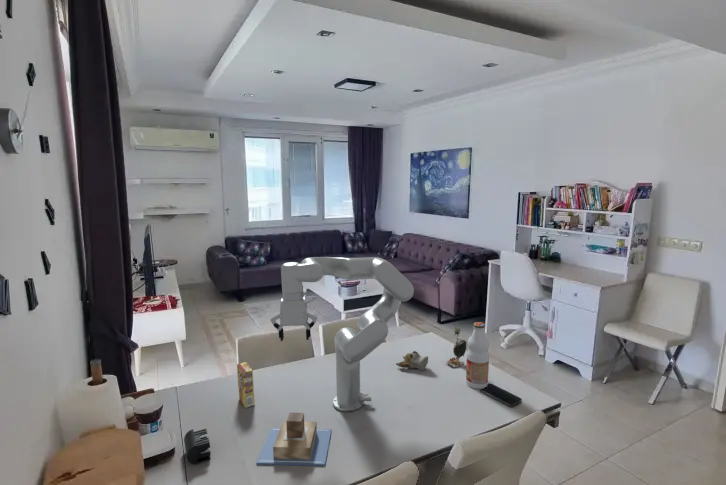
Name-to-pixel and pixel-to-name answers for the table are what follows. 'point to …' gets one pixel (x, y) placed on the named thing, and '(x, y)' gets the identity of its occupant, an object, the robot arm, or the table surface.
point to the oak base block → (295, 443)
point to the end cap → (197, 446)
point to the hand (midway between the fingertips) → (295, 339)
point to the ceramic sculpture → (414, 361)
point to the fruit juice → (477, 358)
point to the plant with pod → (458, 350)
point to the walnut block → (295, 425)
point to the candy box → (245, 384)
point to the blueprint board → (316, 459)
